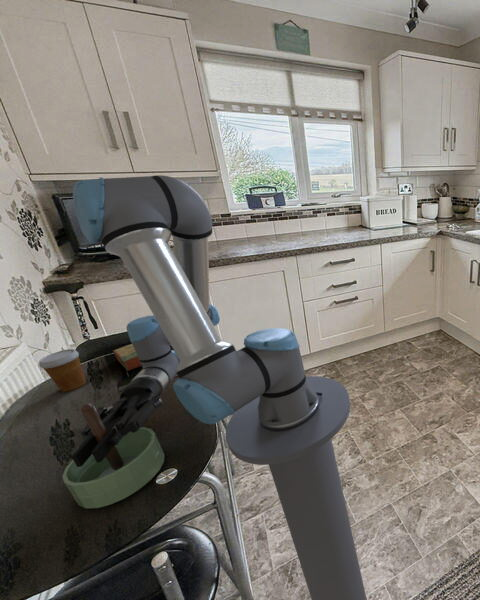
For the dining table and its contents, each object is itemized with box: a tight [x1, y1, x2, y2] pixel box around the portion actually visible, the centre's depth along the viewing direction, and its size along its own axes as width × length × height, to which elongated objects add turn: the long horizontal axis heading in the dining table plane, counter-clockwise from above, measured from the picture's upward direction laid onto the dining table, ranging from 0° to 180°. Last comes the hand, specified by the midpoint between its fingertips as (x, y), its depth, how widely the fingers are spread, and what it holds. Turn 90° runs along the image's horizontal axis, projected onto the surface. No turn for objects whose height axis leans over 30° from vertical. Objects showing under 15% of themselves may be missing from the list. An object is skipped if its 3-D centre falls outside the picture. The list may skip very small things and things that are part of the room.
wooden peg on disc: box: [80, 403, 137, 478], centre depth 68 cm, size 7×7×19 cm
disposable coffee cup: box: [38, 348, 87, 392], centre depth 109 cm, size 10×10×12 cm
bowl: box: [62, 426, 165, 510], centre depth 70 cm, size 15×15×7 cm
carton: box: [112, 343, 142, 372], centre depth 124 cm, size 8×16×4 cm, turn 52°
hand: (86, 458), depth 63 cm, fingers open, 3 cm apart
